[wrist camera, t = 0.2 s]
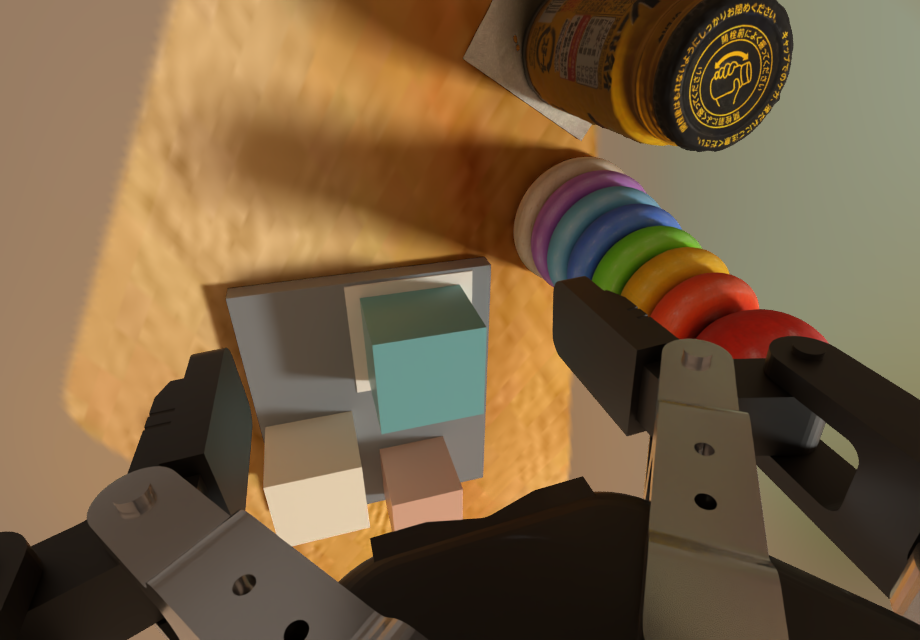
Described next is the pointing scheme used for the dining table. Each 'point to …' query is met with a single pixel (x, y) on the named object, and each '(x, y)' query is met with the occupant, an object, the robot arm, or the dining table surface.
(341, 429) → the cream brick
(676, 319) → the stacking toy
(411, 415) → the teal base brick
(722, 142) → the condiment
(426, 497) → the pink cube
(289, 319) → the baseplate
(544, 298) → the dining table surface
